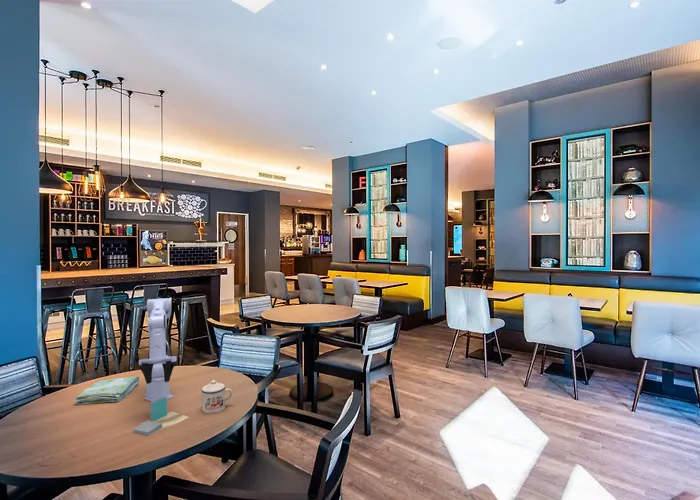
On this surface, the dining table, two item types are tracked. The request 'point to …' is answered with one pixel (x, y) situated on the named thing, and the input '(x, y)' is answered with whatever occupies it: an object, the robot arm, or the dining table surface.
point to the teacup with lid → (214, 397)
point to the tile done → (147, 428)
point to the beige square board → (170, 420)
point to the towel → (108, 390)
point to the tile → (158, 409)
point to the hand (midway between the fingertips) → (157, 382)
